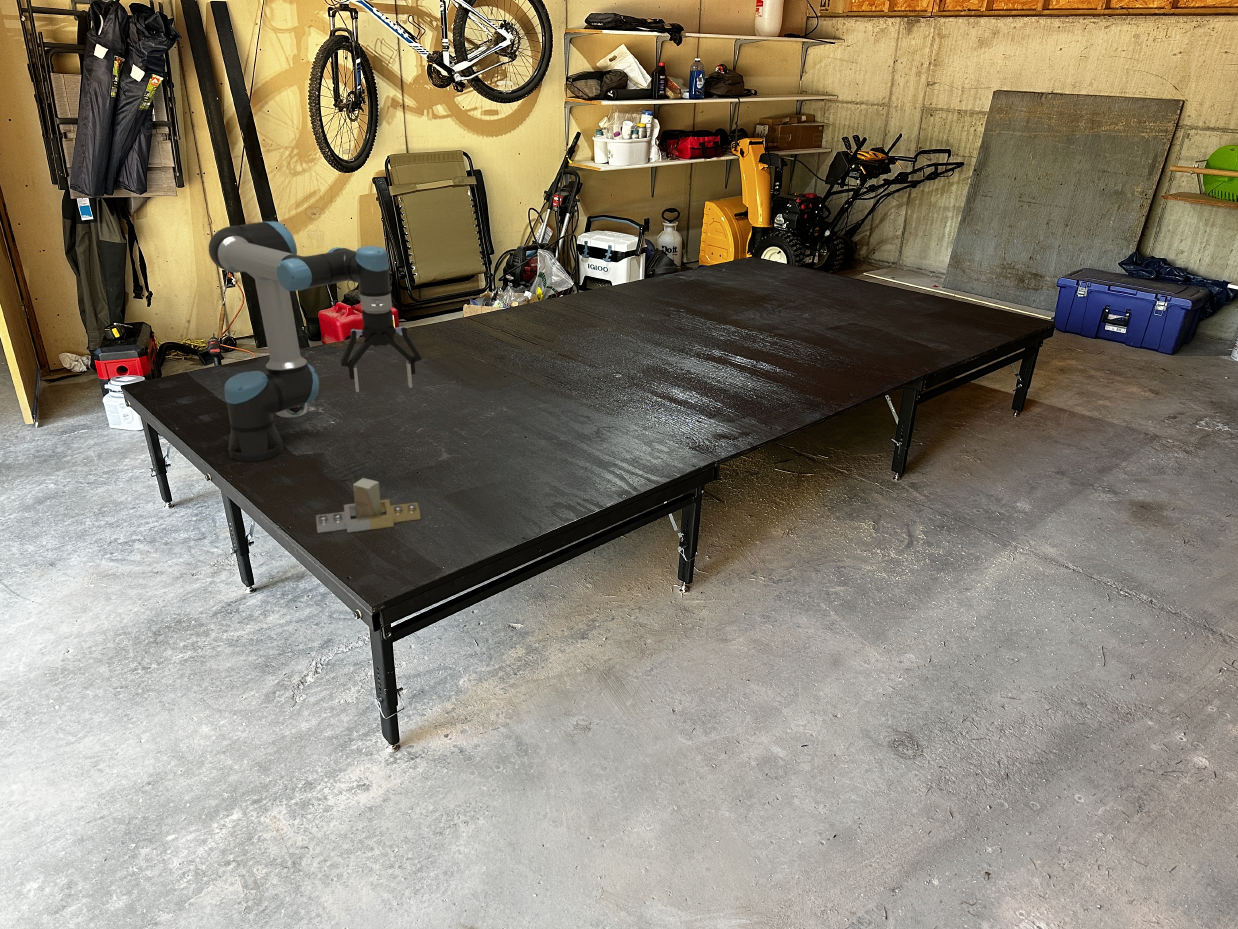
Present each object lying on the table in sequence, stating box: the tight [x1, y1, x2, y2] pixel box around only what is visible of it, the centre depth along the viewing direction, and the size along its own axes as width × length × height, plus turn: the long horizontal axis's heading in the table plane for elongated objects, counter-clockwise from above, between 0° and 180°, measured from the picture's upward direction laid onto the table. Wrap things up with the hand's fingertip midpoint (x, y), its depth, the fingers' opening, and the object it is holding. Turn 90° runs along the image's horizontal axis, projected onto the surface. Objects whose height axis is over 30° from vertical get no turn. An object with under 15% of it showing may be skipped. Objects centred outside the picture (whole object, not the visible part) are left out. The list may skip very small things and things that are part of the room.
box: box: [352, 477, 382, 519], centre depth 213 cm, size 5×4×11 cm
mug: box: [275, 403, 309, 419], centre depth 274 cm, size 13×10×8 cm
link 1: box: [315, 503, 372, 534], centre depth 213 cm, size 13×9×3 cm
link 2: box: [369, 499, 422, 530], centre depth 217 cm, size 13×9×3 cm
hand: (383, 388), depth 221 cm, fingers open, 13 cm apart
